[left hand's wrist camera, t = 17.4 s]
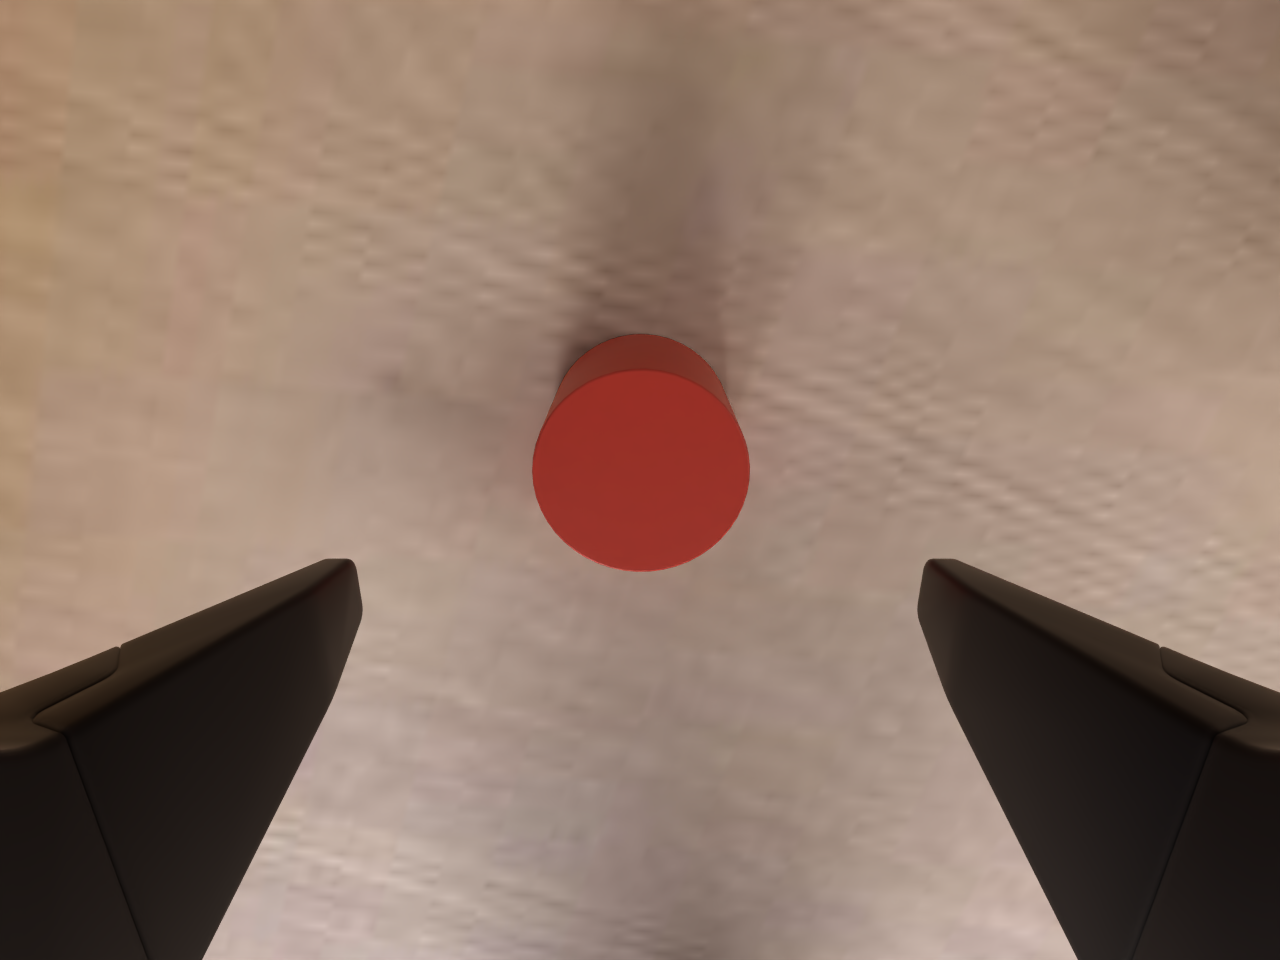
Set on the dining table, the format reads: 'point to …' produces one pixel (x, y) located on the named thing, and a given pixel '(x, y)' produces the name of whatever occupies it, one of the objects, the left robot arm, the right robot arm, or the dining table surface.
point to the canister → (641, 456)
